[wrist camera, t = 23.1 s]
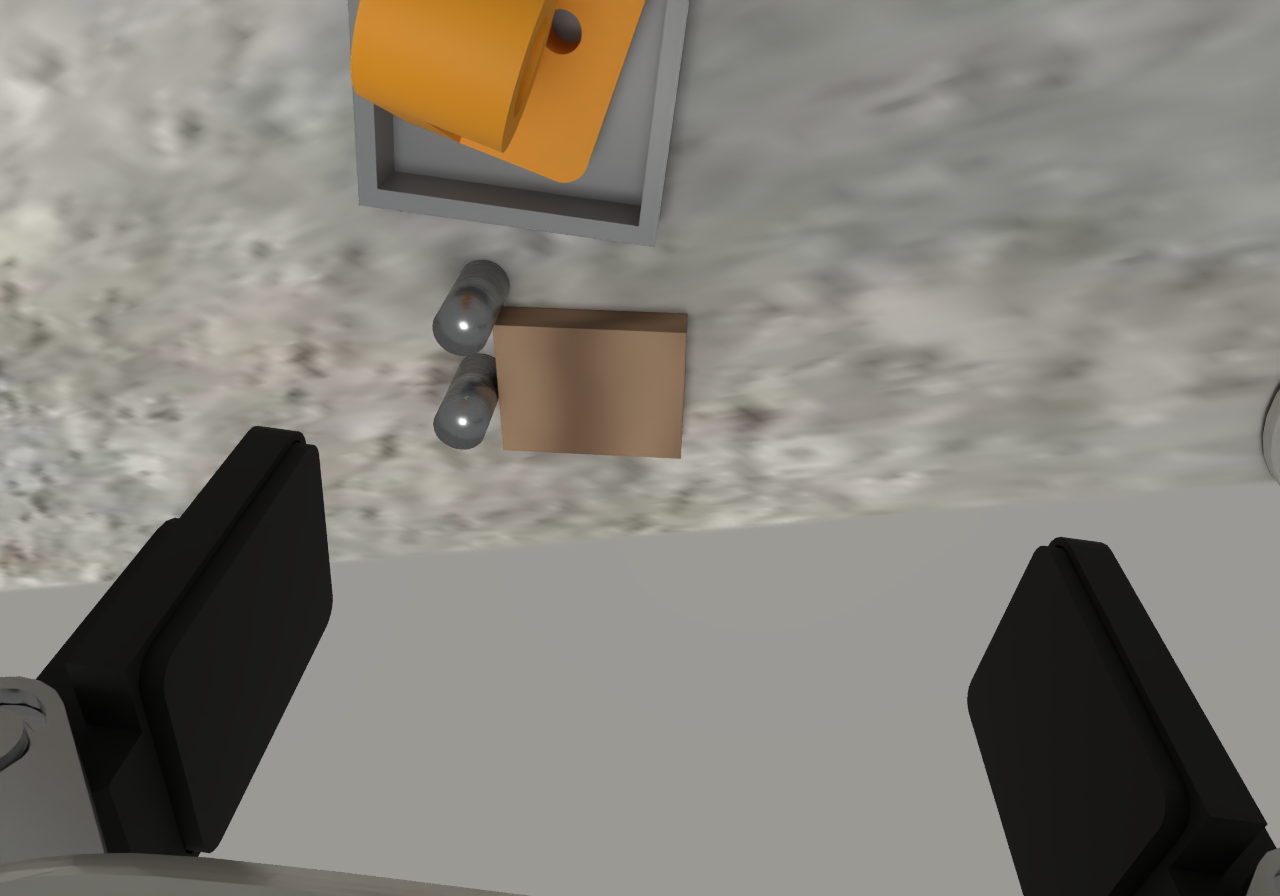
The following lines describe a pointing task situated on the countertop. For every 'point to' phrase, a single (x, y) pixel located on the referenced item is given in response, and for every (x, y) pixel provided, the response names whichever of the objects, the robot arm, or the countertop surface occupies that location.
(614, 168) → the tray
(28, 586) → the countertop surface
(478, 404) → the peg
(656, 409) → the tan slab
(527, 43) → the bracket
